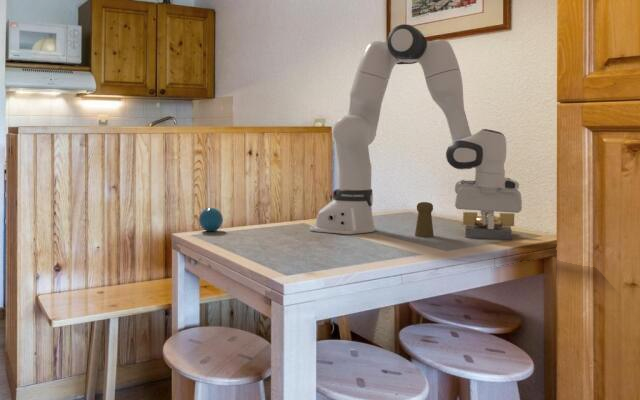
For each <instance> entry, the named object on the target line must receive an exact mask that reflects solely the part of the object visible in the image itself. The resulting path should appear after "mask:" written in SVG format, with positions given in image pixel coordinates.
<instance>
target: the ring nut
mask: <svg viewBox="0 0 640 400" xmlns="http://www.w3.org/2000/svg"><path fill="white" fill-rule="evenodd" d="M515 214H516V213H514V212H499V216H496V215H493V216H490V215H489V211H486V213H485V214H484V216H485V218H486V219H488V225H483V221H484V219H483V217H482V215H478V212H476V211H473V212H472V211H463V212H462V225H464V226H466V225H476V226H481V227H487V228H488V229H494V227H501V226H510V227H515Z"/></svg>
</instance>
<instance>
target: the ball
mask: <svg viewBox="0 0 640 400" xmlns="http://www.w3.org/2000/svg"><path fill="white" fill-rule="evenodd" d="M223 222H224V217H223V214H222V213H221V212H220V210H219V209H217V208H214V207H208V208H205V209H203V210H201V212H200V214H199V216H198V223H199V225H200V227H201V229H203V230H204V231H206V232H209V233H210V232H211V233H212V232H216V231H218V230H219V229H221V227H222V225H223Z"/></svg>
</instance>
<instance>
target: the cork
mask: <svg viewBox="0 0 640 400" xmlns="http://www.w3.org/2000/svg"><path fill="white" fill-rule="evenodd" d="M416 210H417V212H418V214H417V219H416V225H415V232H414V236H415V237H419V238H426V239H427V238H433V237H434V229H433V227H434V226H433V218H432V212H433V210H434V205H433V204H432V203H431V202H427V201H422V202H418V203H417V205H416Z"/></svg>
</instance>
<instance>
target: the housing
mask: <svg viewBox="0 0 640 400" xmlns="http://www.w3.org/2000/svg"><path fill="white" fill-rule="evenodd" d="M512 232H513V231H512V226H501V227H494V229H488V228H487V227H481V226H476V225H465V236H464V237H465V238H466V239H467V238H468V239H488V240H503V241H505V240H506V241H507V240H508V241H512V235H513V234H512Z"/></svg>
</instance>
